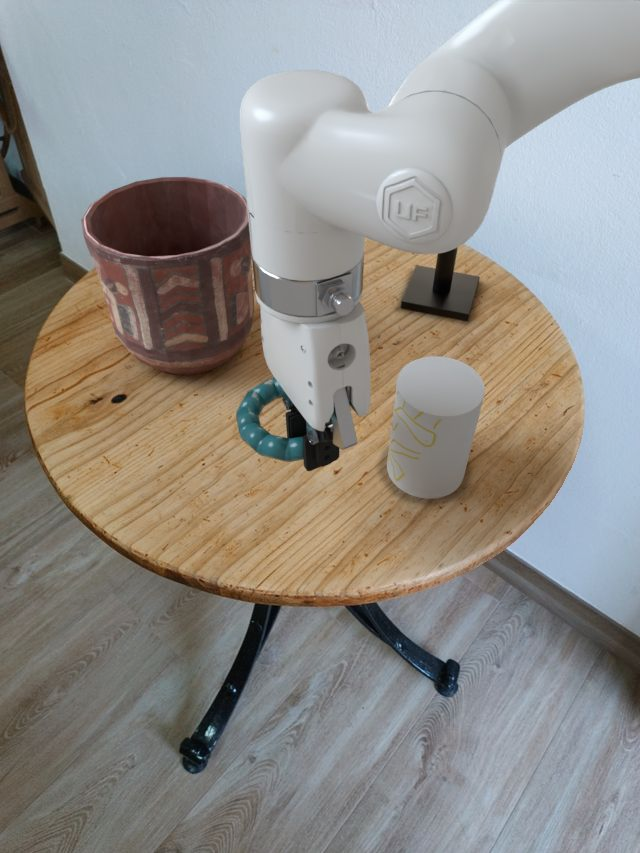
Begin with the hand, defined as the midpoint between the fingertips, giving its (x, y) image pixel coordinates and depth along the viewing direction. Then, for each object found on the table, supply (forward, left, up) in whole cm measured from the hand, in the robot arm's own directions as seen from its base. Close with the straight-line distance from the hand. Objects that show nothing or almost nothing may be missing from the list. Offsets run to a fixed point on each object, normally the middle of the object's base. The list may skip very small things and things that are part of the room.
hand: (313, 450), depth 60 cm
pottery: (+23, -21, -11) cm, 33 cm away
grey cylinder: (-9, -10, -11) cm, 17 cm away
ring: (+3, -3, +1) cm, 4 cm away
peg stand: (-5, -41, -10) cm, 42 cm away
